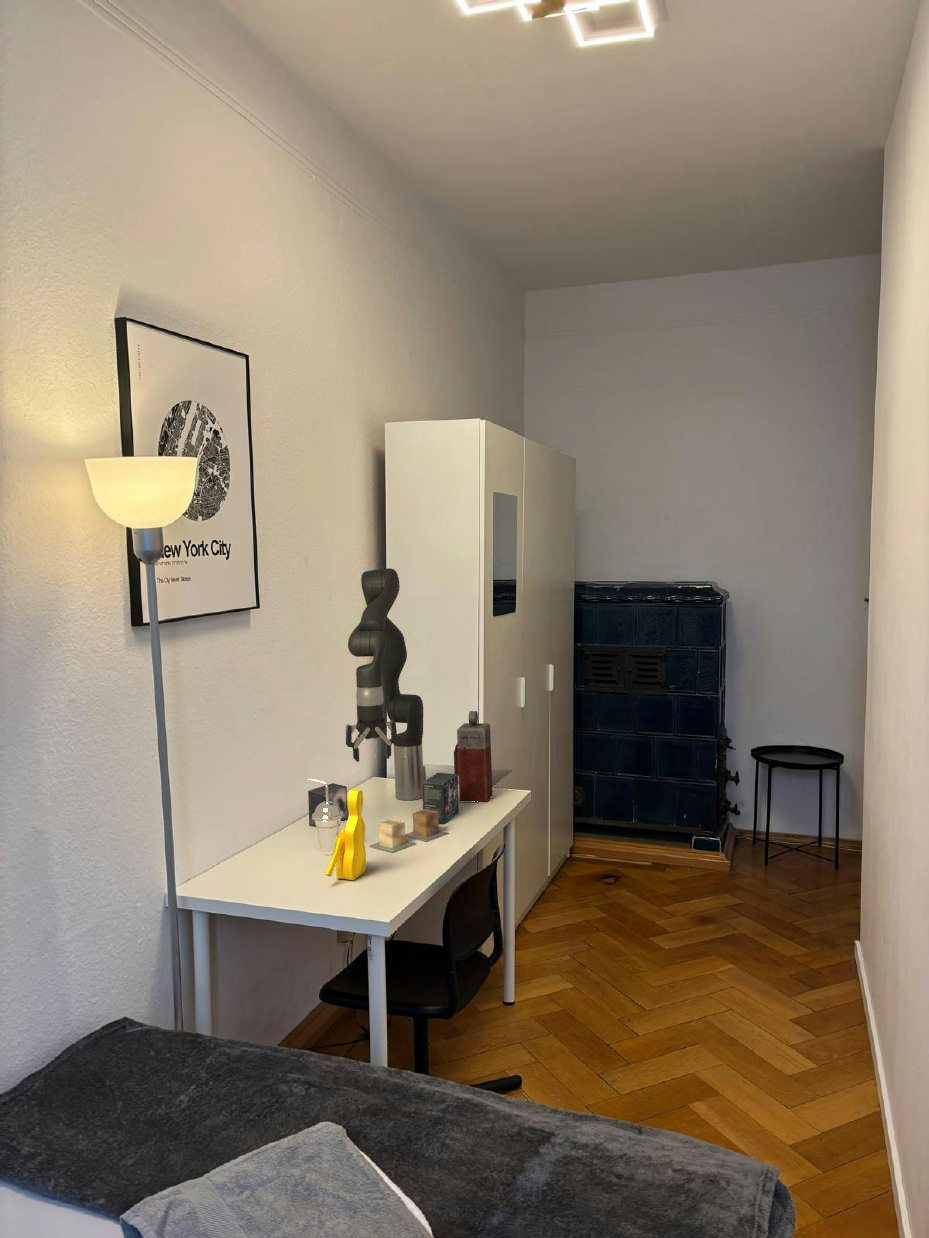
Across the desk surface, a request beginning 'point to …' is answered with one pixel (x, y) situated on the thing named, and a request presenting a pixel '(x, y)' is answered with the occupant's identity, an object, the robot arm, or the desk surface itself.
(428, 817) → the walnut block
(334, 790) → the small box
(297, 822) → the desk surface
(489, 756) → the red grey bottle
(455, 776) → the small box
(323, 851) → the cup with straw
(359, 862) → the figure statuette
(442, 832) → the code tile
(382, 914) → the desk surface
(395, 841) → the maple block
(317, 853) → the desk surface
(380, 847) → the code tile
